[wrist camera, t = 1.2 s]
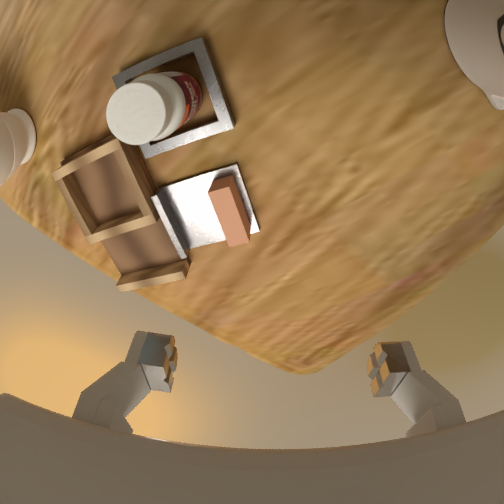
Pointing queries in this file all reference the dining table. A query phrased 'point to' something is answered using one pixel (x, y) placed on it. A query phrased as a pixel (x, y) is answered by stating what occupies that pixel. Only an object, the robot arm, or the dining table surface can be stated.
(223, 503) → the robot arm
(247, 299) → the dining table surface
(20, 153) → the jar
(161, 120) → the pill bottle
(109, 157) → the rack
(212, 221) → the grey metal lipped plate
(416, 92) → the dining table surface
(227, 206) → the pink rectangular block
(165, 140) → the socket collar
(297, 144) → the dining table surface
